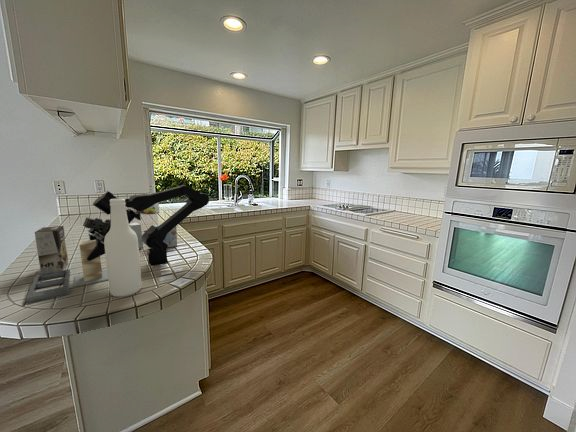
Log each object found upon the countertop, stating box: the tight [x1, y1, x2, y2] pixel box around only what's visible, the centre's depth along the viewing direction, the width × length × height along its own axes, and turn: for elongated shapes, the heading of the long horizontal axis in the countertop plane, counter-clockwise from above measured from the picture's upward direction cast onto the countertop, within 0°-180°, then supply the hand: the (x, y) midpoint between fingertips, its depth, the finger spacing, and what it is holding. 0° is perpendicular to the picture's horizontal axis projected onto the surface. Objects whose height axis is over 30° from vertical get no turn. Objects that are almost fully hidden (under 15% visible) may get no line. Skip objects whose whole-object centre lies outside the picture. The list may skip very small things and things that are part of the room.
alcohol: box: [104, 198, 143, 298], centre depth 78 cm, size 9×9×30 cm
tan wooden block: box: [78, 239, 103, 281], centre depth 88 cm, size 5×5×13 cm
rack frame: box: [25, 268, 71, 304], centre depth 83 cm, size 9×20×2 cm, turn 39°
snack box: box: [136, 202, 160, 215], centre depth 220 cm, size 21×6×15 cm, turn 72°
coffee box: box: [34, 225, 70, 274], centre depth 95 cm, size 9×6×16 cm
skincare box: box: [129, 222, 144, 250], centre depth 123 cm, size 6×4×12 cm
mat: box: [74, 269, 108, 288], centre depth 90 cm, size 10×10×1 cm
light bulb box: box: [154, 224, 178, 248], centre depth 127 cm, size 11×7×11 cm, turn 129°
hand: (85, 257), depth 87 cm, fingers open, 7 cm apart
